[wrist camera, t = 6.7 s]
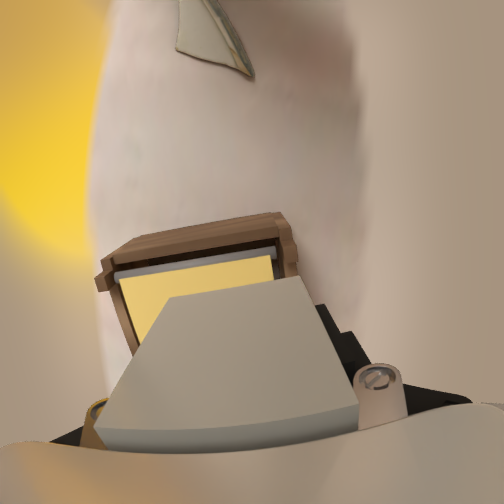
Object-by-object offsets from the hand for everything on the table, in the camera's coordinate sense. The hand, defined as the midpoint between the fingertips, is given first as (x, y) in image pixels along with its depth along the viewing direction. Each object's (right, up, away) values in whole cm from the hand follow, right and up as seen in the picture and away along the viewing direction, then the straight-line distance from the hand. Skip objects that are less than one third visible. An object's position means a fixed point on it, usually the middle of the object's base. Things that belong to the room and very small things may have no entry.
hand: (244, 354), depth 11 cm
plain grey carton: (0, 0, +1) cm, 1 cm away
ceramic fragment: (-3, +24, +11) cm, 27 cm away
